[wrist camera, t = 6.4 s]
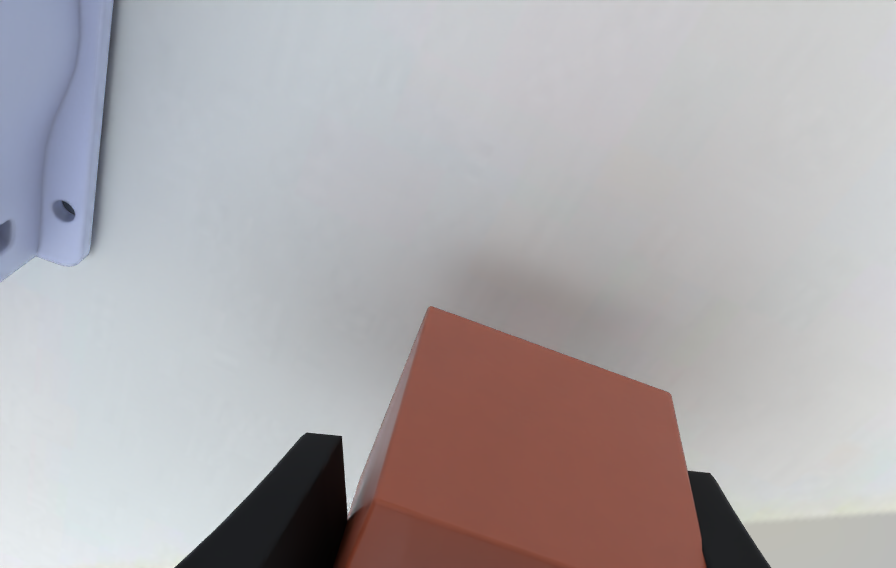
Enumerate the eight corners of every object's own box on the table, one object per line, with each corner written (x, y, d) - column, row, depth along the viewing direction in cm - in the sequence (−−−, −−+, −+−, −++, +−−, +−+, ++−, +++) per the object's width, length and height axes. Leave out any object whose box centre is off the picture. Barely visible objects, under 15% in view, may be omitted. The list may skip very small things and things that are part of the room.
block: (567, 551, 15) (570, 789, 11) (359, 479, 15) (289, 697, 11) (672, 392, 13) (722, 621, 9) (429, 303, 12) (371, 499, 9)
